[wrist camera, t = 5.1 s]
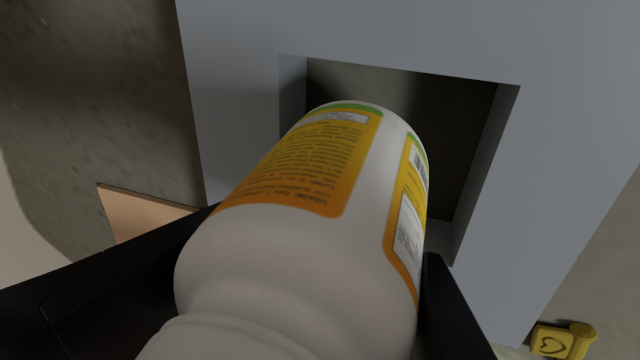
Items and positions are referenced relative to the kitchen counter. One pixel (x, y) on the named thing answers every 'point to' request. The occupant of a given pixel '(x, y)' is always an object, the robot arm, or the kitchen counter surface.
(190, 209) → the pad
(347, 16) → the grey rectangular frame
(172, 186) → the kitchen counter surface
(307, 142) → the supplement bottle
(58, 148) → the kitchen counter surface
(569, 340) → the key
